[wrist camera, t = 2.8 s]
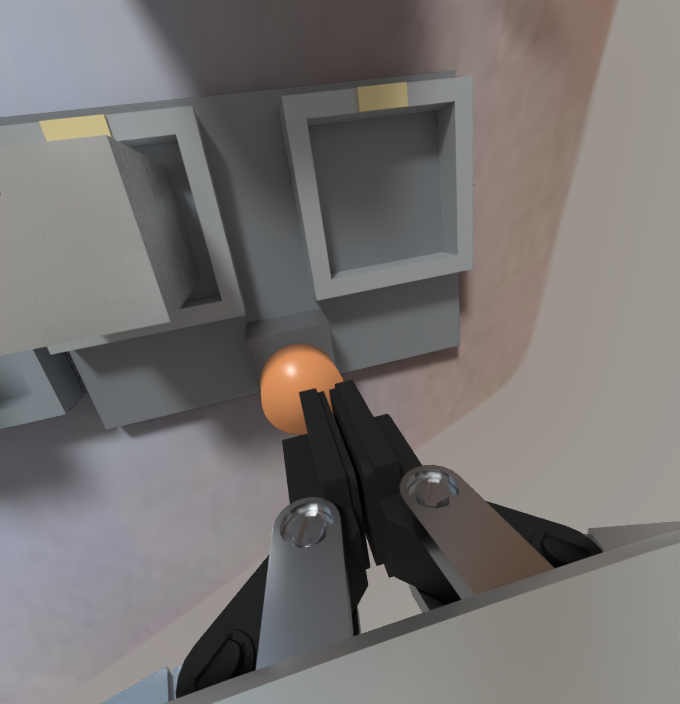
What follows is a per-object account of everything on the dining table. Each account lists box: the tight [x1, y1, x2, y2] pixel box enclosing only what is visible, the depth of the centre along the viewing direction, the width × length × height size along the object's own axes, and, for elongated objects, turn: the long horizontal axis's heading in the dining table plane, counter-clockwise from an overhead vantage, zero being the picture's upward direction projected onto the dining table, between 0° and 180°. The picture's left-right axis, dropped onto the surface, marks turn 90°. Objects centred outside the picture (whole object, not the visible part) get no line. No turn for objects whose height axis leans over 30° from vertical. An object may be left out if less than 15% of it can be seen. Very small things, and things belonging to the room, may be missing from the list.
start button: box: [260, 344, 344, 435], centre depth 14 cm, size 3×3×2 cm
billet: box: [0, 135, 200, 356], centre depth 12 cm, size 4×5×7 cm
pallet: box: [0, 71, 473, 430], centre depth 16 cm, size 13×19×4 cm
